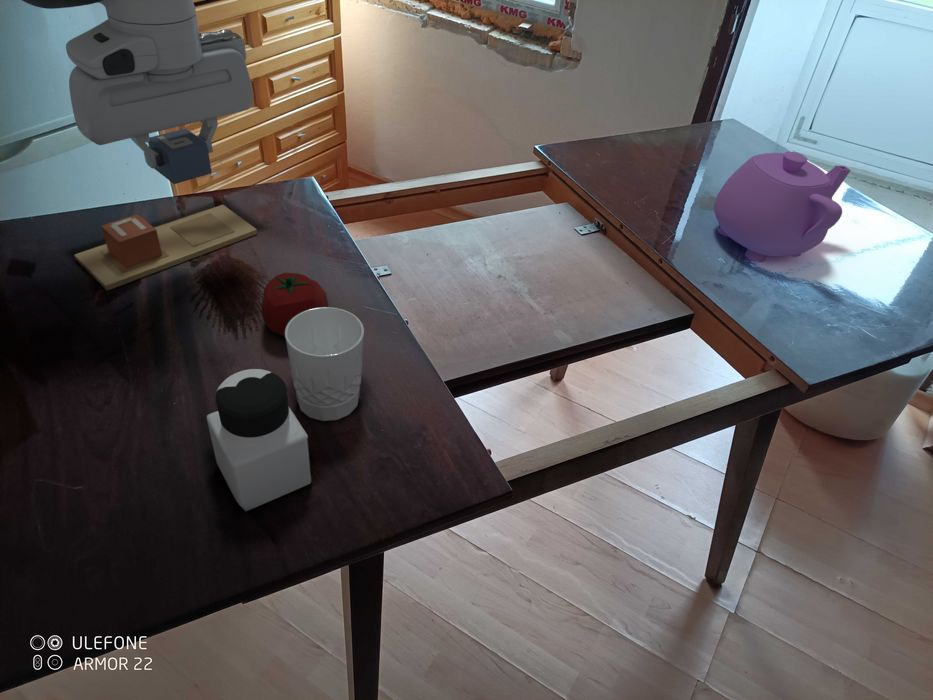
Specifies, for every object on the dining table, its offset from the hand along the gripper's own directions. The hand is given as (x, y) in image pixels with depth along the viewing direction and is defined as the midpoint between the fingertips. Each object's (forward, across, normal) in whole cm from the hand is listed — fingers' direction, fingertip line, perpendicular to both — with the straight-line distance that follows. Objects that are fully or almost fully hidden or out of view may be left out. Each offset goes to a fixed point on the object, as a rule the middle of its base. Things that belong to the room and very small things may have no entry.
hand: (180, 158), depth 84 cm
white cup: (+15, +3, +32) cm, 36 cm away
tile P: (+2, 0, 0) cm, 2 cm away
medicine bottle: (+15, +14, +37) cm, 42 cm away
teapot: (+15, -72, +50) cm, 90 cm away
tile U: (+14, +6, -5) cm, 16 cm away
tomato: (+15, -2, +20) cm, 25 cm away
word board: (+15, +1, -6) cm, 16 cm away
